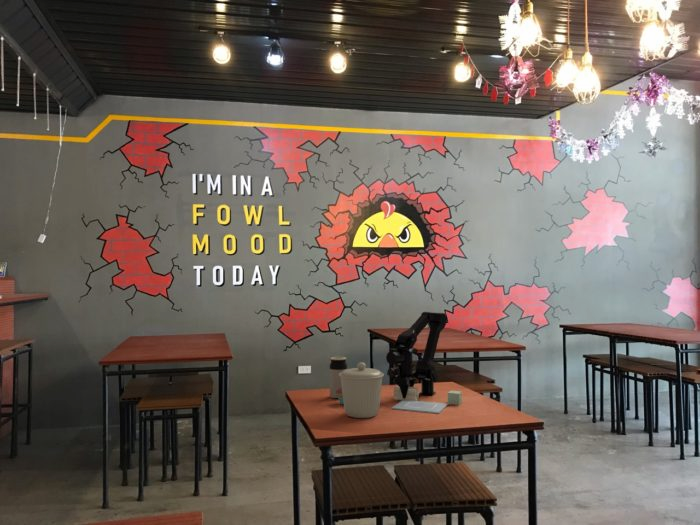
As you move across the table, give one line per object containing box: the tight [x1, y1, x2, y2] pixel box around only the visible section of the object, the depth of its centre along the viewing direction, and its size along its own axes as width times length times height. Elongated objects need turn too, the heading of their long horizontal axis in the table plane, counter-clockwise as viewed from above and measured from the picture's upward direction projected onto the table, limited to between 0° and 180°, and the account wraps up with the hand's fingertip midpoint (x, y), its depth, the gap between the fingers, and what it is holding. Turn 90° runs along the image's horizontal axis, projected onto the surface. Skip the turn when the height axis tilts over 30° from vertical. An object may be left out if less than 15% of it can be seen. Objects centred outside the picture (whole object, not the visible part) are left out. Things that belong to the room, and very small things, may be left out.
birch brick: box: [393, 385, 420, 401], centre depth 250 cm, size 6×10×5 cm, turn 70°
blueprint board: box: [391, 400, 449, 414], centre depth 235 cm, size 16×20×1 cm
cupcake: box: [336, 387, 344, 405], centre depth 242 cm, size 9×8×12 cm
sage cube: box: [447, 390, 463, 406], centre depth 241 cm, size 5×5×5 cm
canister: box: [339, 361, 385, 419], centre depth 222 cm, size 18×18×21 cm
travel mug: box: [329, 356, 348, 399], centre depth 254 cm, size 8×8×18 cm
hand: (406, 396), depth 250 cm, fingers closed on birch brick, 6 cm apart
